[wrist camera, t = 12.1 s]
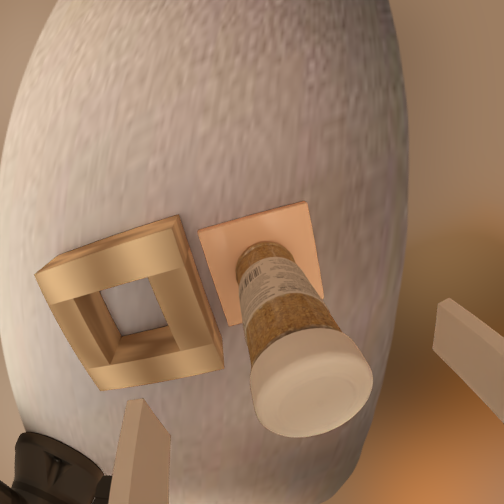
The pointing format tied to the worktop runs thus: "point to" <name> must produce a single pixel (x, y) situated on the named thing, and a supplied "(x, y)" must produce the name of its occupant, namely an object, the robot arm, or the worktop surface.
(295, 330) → the sprinkles bottle
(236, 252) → the terracotta tile
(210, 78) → the worktop surface
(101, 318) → the socket block
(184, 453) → the worktop surface
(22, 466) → the robot arm
